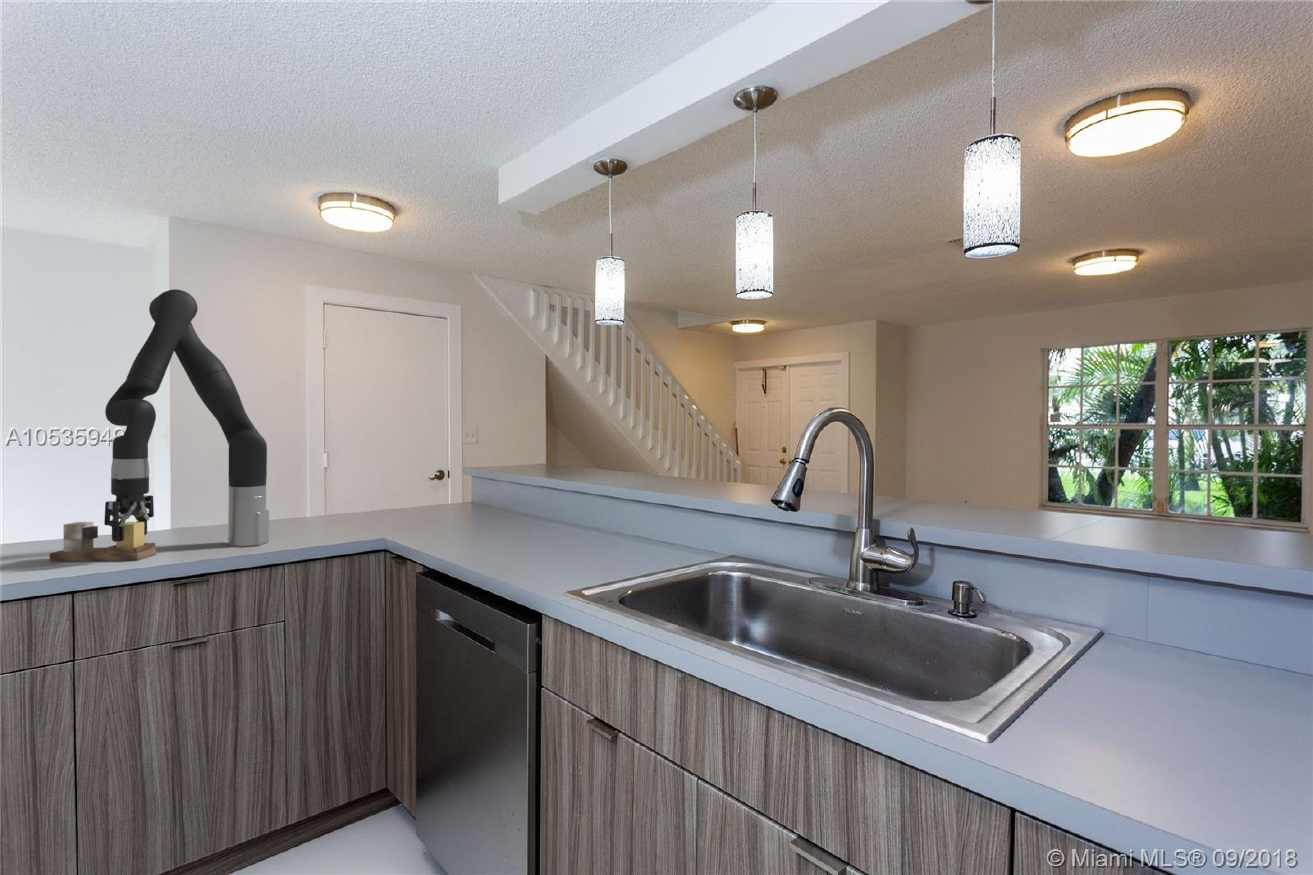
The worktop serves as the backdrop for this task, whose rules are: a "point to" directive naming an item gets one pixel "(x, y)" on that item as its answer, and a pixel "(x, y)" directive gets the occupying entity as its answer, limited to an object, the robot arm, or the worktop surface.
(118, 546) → the yellow and grey box
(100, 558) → the rail
